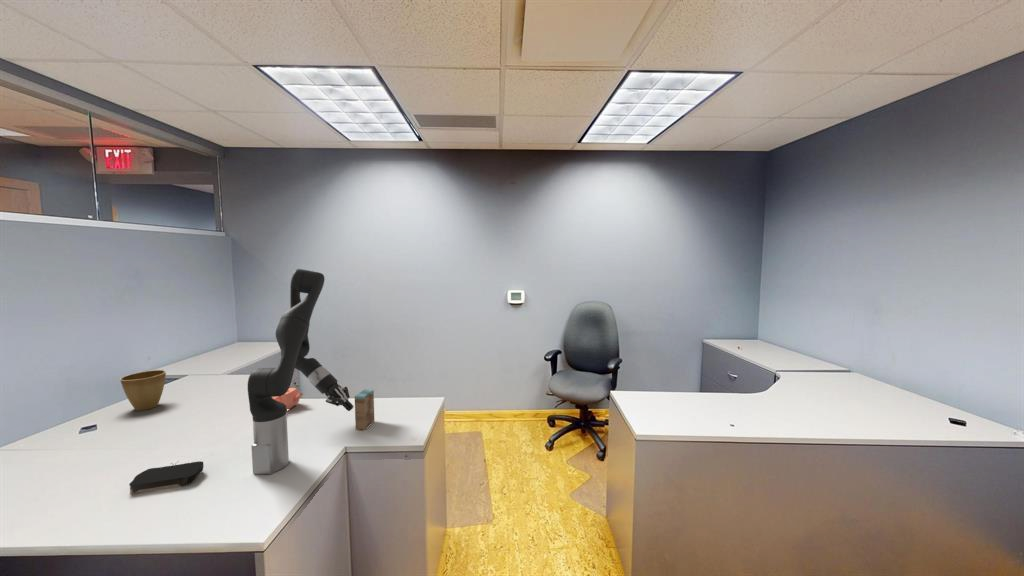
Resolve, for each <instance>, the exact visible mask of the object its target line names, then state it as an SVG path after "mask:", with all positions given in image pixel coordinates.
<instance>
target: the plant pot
mask: <svg viewBox="0 0 1024 576" xmlns="http://www.w3.org/2000/svg"><path fill="white" fill-rule="evenodd" d="M166 373H167V370H165V369H164V370H163V369H153V370H145V371H139V372H136V373H131V374H128V375H124V376H123V377H120V379H119V381H120V383H121V386H122V389H123V391H124V395H125V396H126V398H127V399H128V401H129V403H130V404H131V406H132V407H133V409H134V410H135V411H147V410H151V409H154V408H156V407H157V406H159V403H160V401H161V398H162V394H163V392H164V387H165V383H166V375H167V374H166Z"/></svg>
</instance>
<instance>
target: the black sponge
mask: <svg viewBox="0 0 1024 576" xmlns="http://www.w3.org/2000/svg"><path fill="white" fill-rule="evenodd" d="M203 471H204V461H192V462H187V463H185V462H184V463H180V464H174V465H168V466H167V465H166V466H160V467H152V468H151V467H150V468H148V469H145V470H144V471H141V472H140V473H138V474H136V475H135V476H134V478H133V480H132V481H131V482H130V483H129V484H128V485H129V493H130V494H131V495H135V494H139V493H146V492H152V491H153V492H154V491H157V490H166V489H170V488H178V487H185V486H189V485H191V484H192V483H194V481H195V480H196V478H198V476H199V475H200V474H202V472H203Z"/></svg>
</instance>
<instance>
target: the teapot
mask: <svg viewBox="0 0 1024 576" xmlns="http://www.w3.org/2000/svg"><path fill="white" fill-rule="evenodd" d="M303 395H304V394H303V392H299V391H298V389H297V388H296V387H289V389H288V391H287V392H286V393H285V394H284V395H282V396H276V397H272V398H273V399H274V400H276V401H278V402H281V403H284V404H285V405H286V410H287V409H290V410H291V409H292V408H294V407H293V406H295V405H296V406H297V405H298V404H299V402H300V398H301V397H303Z"/></svg>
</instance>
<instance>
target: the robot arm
mask: <svg viewBox="0 0 1024 576" xmlns="http://www.w3.org/2000/svg"><path fill="white" fill-rule="evenodd" d="M325 278H326V277H325V275H324V274H323V273H321V272H318V271H313V270H307V269H301V268H297V269H295V270H294V272H293V273H292V276H291V279H290V291H289V292H290V293H289V294H290V297H289V299H290V301H289V303H290V305H289V306H290V308H289V309H288V310H287V311H285V313H283V314H282V316H281V318H280V319H279V322H278V325H277V327H276V329H275V339H276V342H277V344H278V347H279V349H280V356H281V357H280V361H279V364H278V366H277V367H260V368H256V369H254V370H252V372H251V373H250V375H249V376H248V380H247V396H248V403H249V411H250V414H251V416H252V429H253V432H252V433H253V444H251V459H252V460H251V463H252V464H251V465H252V474H255V475H256V474H257V475H272V474H273V473H275V472H278V471H281V470H282V469H283V468H286V467H287V465H289V462H290V458H289V436H288V433H289V432H288V416H287V415H288V413H287V412H288V411H287V410H286V405H285V404H284V403H281V402H278V401H276V400H274V399H273V398H272V397H276V396H282V395H284V394H285V393H286V392H287V391H288V389H289V388H291V383H292V380H293V377H294V372H295V369H296V370H297V371H300V372H301V373H302V374H303V375H304V376H305V377H306V379H308V381H309V383H310V384H312V385H313V386H314V388H315V389H316V390H317V391H318V392H319V393H320V394H322V395H325V397H326V399H325V402H326V403H328V404H331V405H332V406H336V407H339V406H343V408H344V409H346V411H348V412H350V411H352V409H354V408H355V405H353V404H352V403H351V402H350V401H349V399H350V393H349V389H348V387H347V386H344V387H342V386H341V385H339V383H338V382H339V381H338V379H337V378H336V377H335V376H334V375H333V374H332V372H330V371H329V370H328V369H326V368H325V367H324V366H323V365H322V364H321V362H319V361H318V360H317V359H316V358H314V357H310V358H307V356H308V354H309V352H310V341H309V340H310V339H309V336H308V335H309V331H310V330H309V329H310V325H311V324H310V323H311V322H310V320H311V318H312V316H313V312H314V308H315V306H316V303H317V302H318V299H319V297H320V295H321V292H322V290H323V287H324V285H325ZM301 293H302V294H307V295H306V297H305V298H304V299H302V298H301ZM301 299H302V300H301Z"/></svg>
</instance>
